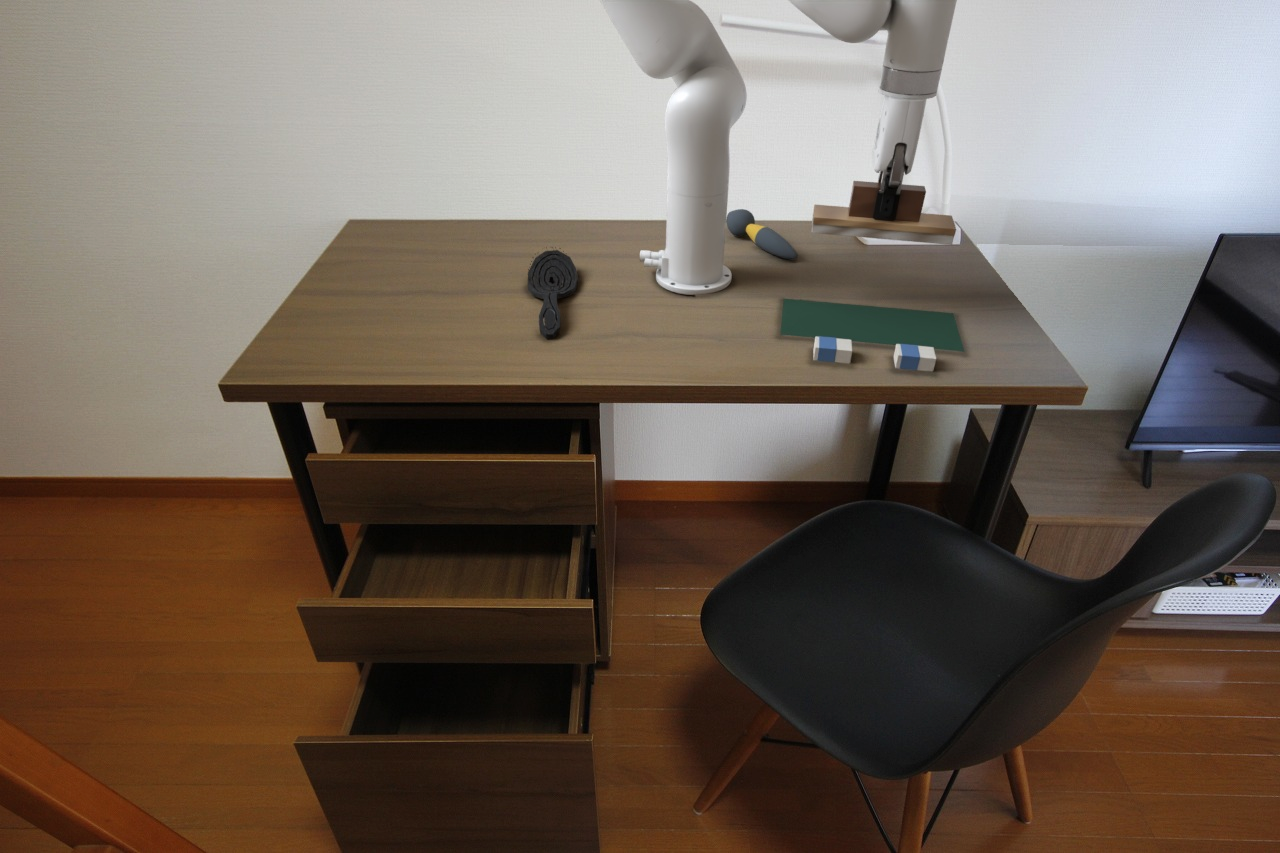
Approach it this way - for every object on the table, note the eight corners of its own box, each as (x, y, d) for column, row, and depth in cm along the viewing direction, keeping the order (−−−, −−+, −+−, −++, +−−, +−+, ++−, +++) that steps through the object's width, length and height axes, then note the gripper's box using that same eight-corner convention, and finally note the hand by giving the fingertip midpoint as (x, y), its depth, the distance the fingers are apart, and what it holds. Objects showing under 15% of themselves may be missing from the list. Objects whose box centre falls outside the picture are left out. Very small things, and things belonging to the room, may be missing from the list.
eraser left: (812, 362, 109) (815, 347, 107) (813, 351, 111) (815, 335, 110) (849, 366, 108) (852, 350, 107) (848, 354, 111) (851, 339, 109)
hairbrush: (519, 323, 112) (527, 245, 131) (521, 345, 114) (529, 265, 134) (577, 321, 112) (577, 244, 132) (578, 343, 115) (577, 264, 134)
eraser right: (894, 370, 107) (898, 355, 106) (892, 358, 110) (896, 343, 108) (932, 374, 106) (936, 358, 105) (929, 362, 109) (933, 346, 108)
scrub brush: (811, 233, 115) (818, 186, 111) (812, 220, 120) (818, 174, 115) (952, 245, 112) (964, 197, 108) (947, 231, 116) (959, 185, 112)
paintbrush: (810, 258, 137) (813, 231, 134) (790, 266, 135) (793, 238, 132) (732, 225, 150) (734, 199, 147) (713, 231, 148) (714, 205, 145)
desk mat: (779, 337, 115) (779, 334, 114) (782, 300, 124) (783, 298, 124) (964, 354, 111) (964, 351, 111) (952, 315, 120) (953, 313, 120)
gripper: (877, 67, 111) (855, 195, 121) (883, 94, 98) (858, 234, 109) (932, 69, 109) (905, 198, 120) (945, 97, 97) (914, 238, 107)
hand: (883, 214), depth 114 cm, fingers closed on scrub brush, 2 cm apart
